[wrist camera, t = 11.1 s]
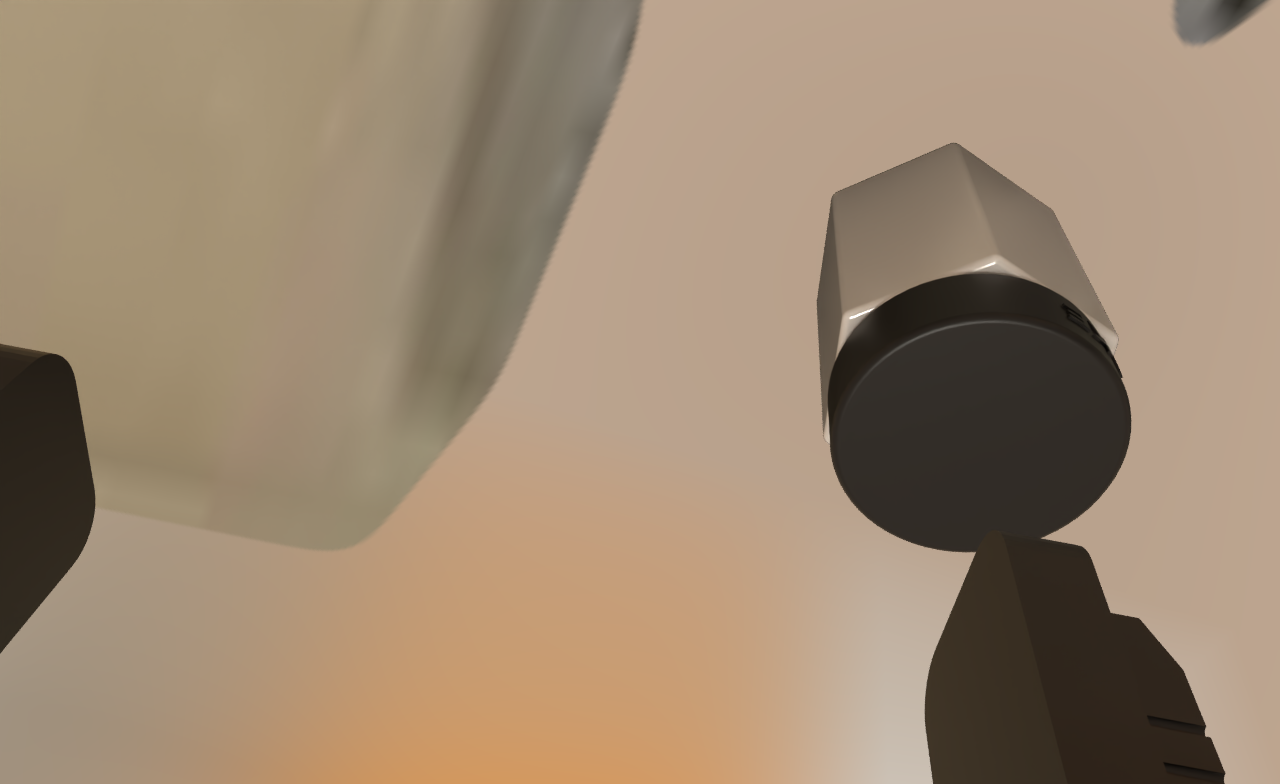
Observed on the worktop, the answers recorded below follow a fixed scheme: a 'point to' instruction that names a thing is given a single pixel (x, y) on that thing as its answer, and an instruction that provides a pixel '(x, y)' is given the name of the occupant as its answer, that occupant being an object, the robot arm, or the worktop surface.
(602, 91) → the worktop surface
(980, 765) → the robot arm
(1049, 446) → the jar
